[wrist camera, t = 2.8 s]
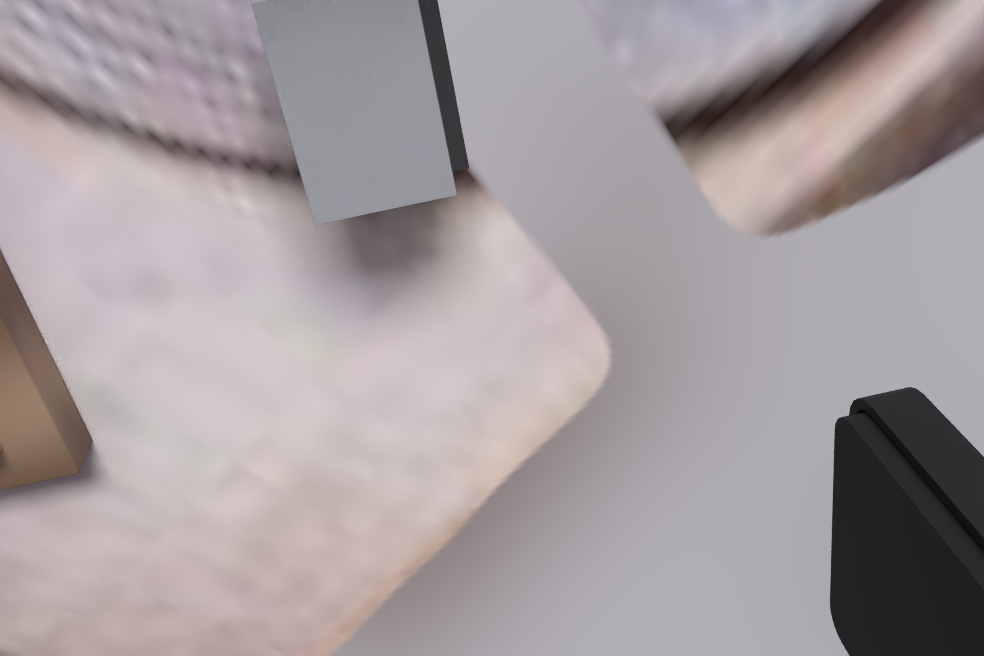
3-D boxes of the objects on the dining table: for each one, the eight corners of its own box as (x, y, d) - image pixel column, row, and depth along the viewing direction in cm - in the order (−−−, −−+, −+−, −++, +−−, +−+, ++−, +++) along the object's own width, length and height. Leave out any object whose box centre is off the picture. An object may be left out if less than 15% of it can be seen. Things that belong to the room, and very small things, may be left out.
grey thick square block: (415, -66, 28) (432, -34, 23) (452, 125, 31) (474, 191, 26) (267, -37, 28) (251, 3, 23) (319, 152, 31) (315, 224, 26)
